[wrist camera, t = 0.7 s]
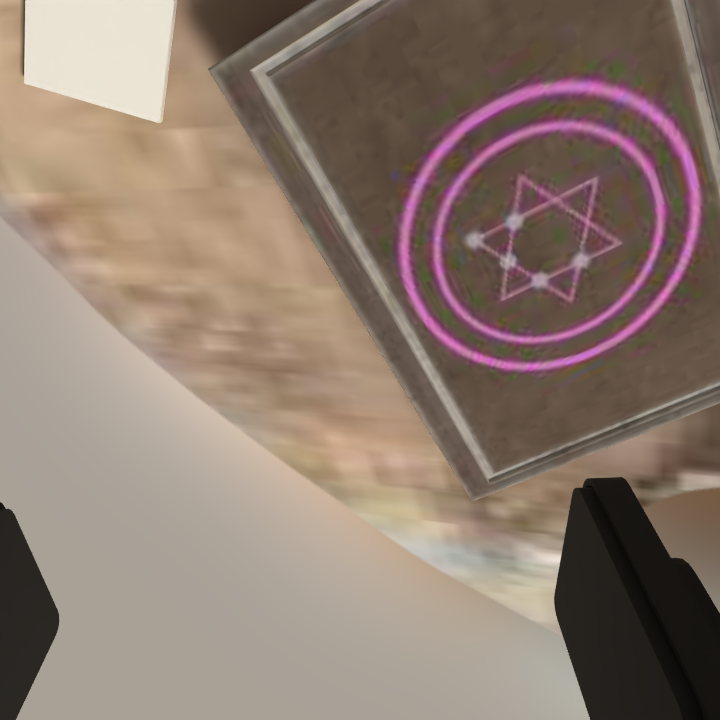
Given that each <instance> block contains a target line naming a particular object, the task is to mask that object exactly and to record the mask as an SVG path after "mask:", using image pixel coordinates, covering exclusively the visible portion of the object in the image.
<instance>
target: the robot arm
mask: <svg viewBox="0 0 720 720" xmlns="http://www.w3.org/2000/svg"><path fill="white" fill-rule="evenodd" d="M554 603H555V611H556V616H557V619H558V622H559V625H560V628H561V631H562V635H563V638H564V640H565V643H566V647H567V650H568V653H569V656H570V659H571V662H572V665H573V668H574V671H575V674H576V677H577V680H578V683H579V686H580V689H581V692H582V695H583V698H584V701H585V705H586V708H587V711H588V714H589V717H590V720H720V613H719V612H718V610H717V608H716V607H715V605H714V603H713V602H712V600H711V598H710V597H709V595H708V593H707V591H706V590H705V588H704V586H703V585H702V583H701V581H700V580H699V578H698V576H697V575H696V573H695V572H694V570H693V569H692V568H691V566H690V565H689V564H688V563H687V562H686V561H684V560H683V559H680V558H670V556H669V554H668V552H667V550H666V549H665V547H664V545H663V543H662V542H661V540H660V538H659V536H658V535H657V533H656V531H655V529H654V528H653V526H652V524H651V522H650V521H649V519H648V517H647V515H646V514H645V512H644V510H643V508H642V506H641V505H640V503H639V501H638V499H637V498H636V496H635V494H634V492H633V491H632V489H631V487H630V485H629V484H628V482H627V481H626V480H625V479H624V478H622V477H616V478H589V479H586V480H585V482H584V485H583V488H575V489H574V490H573V494H572V499H571V505H570V510H569V516H568V522H567V527H566V533H565V539H564V544H563V550H562V556H561V561H560V567H559V572H558V578H557V584H556V589H555V596H554ZM58 626H59V613H58V610H57V608H56V606H55V603H54V601H53V599H52V597H51V595H50V592H49V590H48V588H47V586H46V583H45V581H44V579H43V577H42V575H41V572H40V570H39V568H38V566H37V563H36V561H35V559H34V557H33V555H32V552H31V550H30V548H29V546H28V544H27V542H26V539H25V537H24V535H23V533H22V530H21V528H20V526H19V524H18V521H17V519H16V517H15V515H14V513H13V512H12V511H11V510H10V509H6V508H5V507H4V505H3V504H2V503H1V502H0V720H16V718H17V716H18V714H19V712H20V709H21V707H22V705H23V703H24V701H25V699H26V697H27V695H28V693H29V691H30V688H31V686H32V684H33V682H34V680H35V678H36V676H37V673H38V672H39V670H40V667H41V665H42V663H43V661H44V659H45V657H46V655H47V653H48V650H49V649H50V646H51V644H52V642H53V640H54V638H55V636H56V633H57V630H58Z"/></svg>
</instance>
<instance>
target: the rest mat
mask: <svg viewBox="0 0 720 720" xmlns="http://www.w3.org/2000/svg"><path fill="white" fill-rule="evenodd" d="M176 7H177V0H25V59H24V83H25V84H28V85H31V86H35V87H38V88H42V89H45V90H48V91H52V92H55V93H59V94H62V95H65V96H69V97H72V98H76V99H79V100H82V101H86V102H89V103H93V104H96V105H99V106H103V107H106V108H110V109H113V110H116V111H120V112H123V113H127V114H130V115H133V116H137V117H140V118H143V119H147V120H150V121H154V122H157V123H161V122H162V121H163V113H164V105H165V97H166V89H167V80H168V72H169V64H170V56H171V48H172V40H173V32H174V24H175V16H176Z"/></svg>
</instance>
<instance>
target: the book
mask: <svg viewBox="0 0 720 720" xmlns="http://www.w3.org/2000/svg"><path fill="white" fill-rule="evenodd" d="M208 70H209V71H210V73H211V75H212V76H213V78H214V80H215V81H216V83H217V84H218V86H219V88H220V89H221V91H222V93H223V94H224V96H225V98H226V99H227V101H228V103H229V104H230V106H231V107H232V109H233V111H234V112H235V114H236V116H237V117H238V119H239V121H240V122H241V124H242V125H243V127H244V129H245V130H246V132H247V134H248V135H249V137H250V139H251V140H252V142H253V143H254V145H255V147H256V148H257V150H258V152H259V153H260V155H261V157H262V158H263V160H264V162H265V163H266V165H267V166H268V168H269V170H270V171H271V173H272V175H273V176H274V178H275V180H276V181H277V183H278V184H279V186H280V188H281V189H282V191H283V193H284V194H285V196H286V198H287V199H288V201H289V202H290V204H291V206H292V207H293V209H294V211H295V212H296V214H297V216H298V217H299V219H300V221H301V222H302V224H303V225H304V227H305V229H306V230H307V232H308V234H309V235H310V237H311V239H312V240H313V242H314V243H315V245H316V247H317V248H318V250H319V252H320V253H321V255H322V257H323V258H324V260H325V261H326V263H327V265H328V266H329V268H330V270H331V271H332V273H333V275H334V276H335V278H336V280H337V281H338V283H339V284H340V286H341V288H342V289H343V291H344V293H345V294H346V296H347V298H348V299H349V301H350V302H351V304H352V306H353V307H354V309H355V311H356V312H357V314H358V316H359V317H360V319H361V320H362V322H363V324H364V325H365V327H366V329H367V330H368V332H369V334H370V335H371V337H372V339H373V340H374V342H375V343H376V345H377V347H378V348H379V350H380V352H381V353H382V355H383V357H384V358H385V360H386V361H387V363H388V365H389V366H390V368H391V370H392V371H393V373H394V375H395V376H396V378H397V380H398V381H399V383H400V384H401V386H402V388H403V389H404V391H405V393H406V394H407V396H408V398H409V399H410V401H411V402H412V404H413V406H414V407H415V409H416V411H417V412H418V414H419V416H420V417H421V419H422V420H423V422H424V424H425V425H426V427H427V429H428V430H429V432H430V434H431V435H432V437H433V439H434V440H435V442H436V443H437V445H438V447H439V448H440V450H441V452H442V453H443V455H444V457H445V458H446V460H447V461H448V463H449V465H450V466H451V468H452V470H453V471H454V473H455V475H456V476H457V478H458V479H459V481H460V483H461V484H462V486H463V488H464V489H465V491H466V493H467V494H468V496H469V498H470V499H471V501H475V500H477V499H480V498H482V497H485V496H488V495H490V494H493V493H495V492H498V491H500V490H503V489H505V488H508V487H510V486H513V485H515V484H518V483H520V482H523V481H525V480H528V479H530V478H533V477H535V476H538V475H540V474H543V473H545V472H548V471H550V470H553V469H555V468H558V467H560V466H563V465H565V464H568V463H570V462H573V461H575V460H578V459H580V458H583V457H585V456H588V455H590V454H593V453H595V452H598V451H600V450H603V449H605V448H608V447H610V446H613V445H615V444H618V443H620V442H623V441H625V440H628V439H630V438H633V437H635V436H638V435H640V434H643V433H645V432H648V431H651V430H653V429H656V428H658V427H661V426H663V425H666V424H668V423H671V422H673V421H676V420H678V419H681V418H683V417H686V416H688V415H691V414H693V413H696V412H698V411H701V410H703V409H706V408H708V407H711V406H713V405H716V404H718V403H720V0H314V1H312V2H311V3H309V4H308V5H306V6H304V7H303V8H301V9H300V10H298V11H297V12H295V13H294V14H292V15H291V16H289V17H288V18H286V19H284V20H283V21H281V22H280V23H278V24H277V25H275V26H274V27H272V28H271V29H269V30H267V31H266V32H264V33H263V34H261V35H260V36H258V37H257V38H255V39H254V40H252V41H251V42H249V43H247V44H246V45H244V46H243V47H241V48H240V49H238V50H237V51H235V52H234V53H232V54H231V55H229V56H227V57H226V58H224V59H223V60H221V61H220V62H218V63H217V64H215V65H214V66H212V67H211V68H209V69H208Z"/></svg>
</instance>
